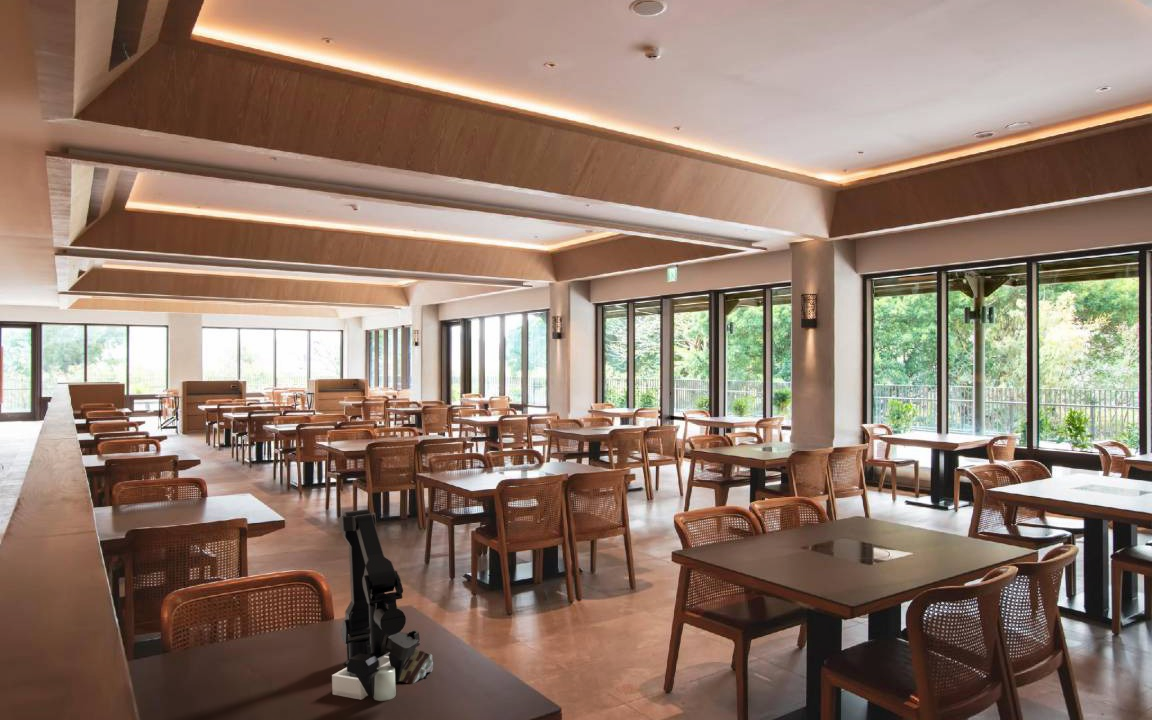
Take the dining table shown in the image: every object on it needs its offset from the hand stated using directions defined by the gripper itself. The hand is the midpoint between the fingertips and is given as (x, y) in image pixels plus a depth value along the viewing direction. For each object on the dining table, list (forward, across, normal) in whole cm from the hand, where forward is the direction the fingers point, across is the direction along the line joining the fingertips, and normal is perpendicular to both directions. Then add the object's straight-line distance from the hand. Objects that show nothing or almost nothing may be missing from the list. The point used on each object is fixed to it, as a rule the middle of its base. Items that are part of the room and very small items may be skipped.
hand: (384, 689), depth 174 cm
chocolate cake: (+2, +12, 0) cm, 12 cm away
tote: (+2, +4, +8) cm, 9 cm away
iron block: (0, +3, +8) cm, 9 cm away
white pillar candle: (+2, 0, 0) cm, 2 cm away
